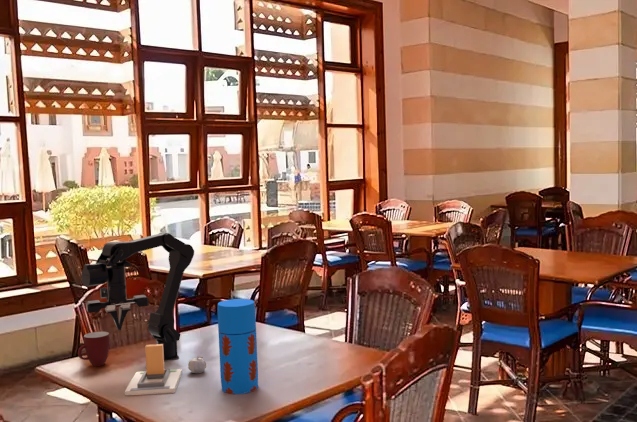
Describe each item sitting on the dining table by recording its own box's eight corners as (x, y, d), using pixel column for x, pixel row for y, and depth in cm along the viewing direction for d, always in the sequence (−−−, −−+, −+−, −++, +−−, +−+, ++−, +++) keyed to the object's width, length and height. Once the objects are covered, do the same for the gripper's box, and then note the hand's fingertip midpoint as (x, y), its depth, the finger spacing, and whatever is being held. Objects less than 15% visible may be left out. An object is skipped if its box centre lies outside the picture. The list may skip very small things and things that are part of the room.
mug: (87, 371, 220) (85, 340, 220) (73, 367, 226) (71, 337, 225) (116, 363, 228) (114, 333, 228) (102, 359, 234) (100, 330, 233)
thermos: (242, 396, 192) (238, 308, 190) (213, 390, 198) (209, 305, 196) (265, 384, 201) (262, 300, 199) (237, 379, 207) (233, 297, 205)
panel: (136, 375, 214) (136, 368, 214) (182, 372, 215) (181, 365, 215) (124, 395, 196) (124, 387, 196) (174, 392, 198) (174, 384, 197)
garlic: (210, 370, 217) (209, 354, 217) (200, 375, 212) (200, 359, 212) (194, 368, 219) (194, 352, 219) (184, 373, 215) (183, 357, 214)
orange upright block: (148, 374, 210) (146, 344, 209) (165, 373, 210) (163, 343, 210) (146, 378, 206) (144, 347, 206) (163, 377, 207) (161, 346, 206)
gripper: (141, 275, 230) (144, 321, 231) (82, 281, 222) (85, 328, 223) (147, 280, 220) (150, 328, 221) (86, 286, 212) (89, 336, 213)
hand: (119, 330), depth 220 cm, fingers closed
